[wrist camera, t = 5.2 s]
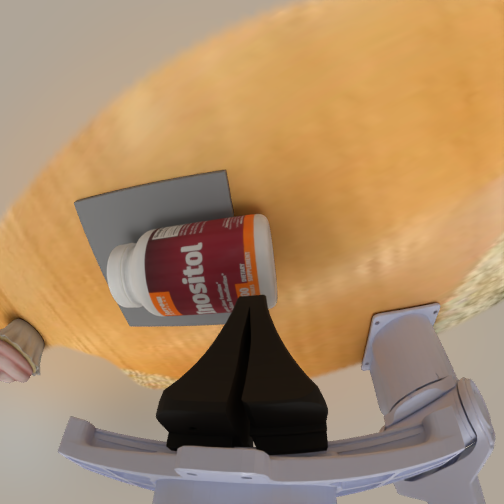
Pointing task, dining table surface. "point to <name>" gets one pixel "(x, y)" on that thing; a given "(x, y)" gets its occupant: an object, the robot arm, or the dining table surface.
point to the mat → (154, 225)
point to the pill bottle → (195, 267)
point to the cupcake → (19, 352)
